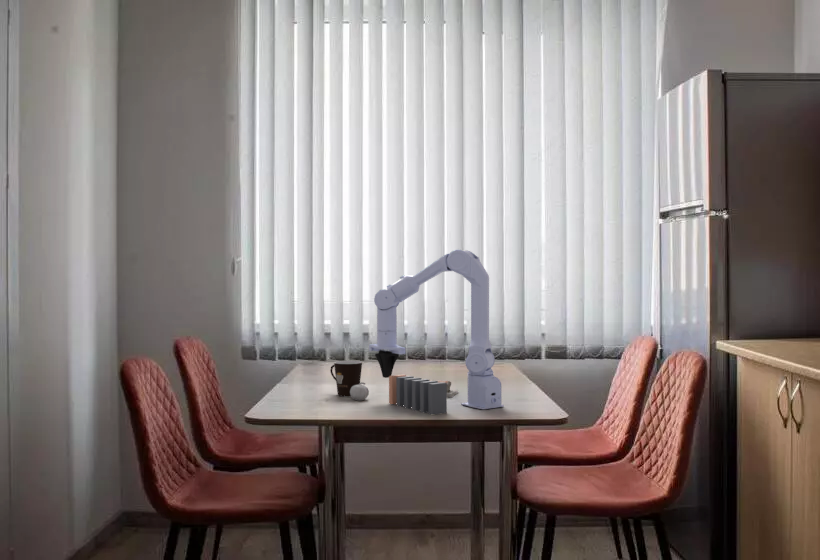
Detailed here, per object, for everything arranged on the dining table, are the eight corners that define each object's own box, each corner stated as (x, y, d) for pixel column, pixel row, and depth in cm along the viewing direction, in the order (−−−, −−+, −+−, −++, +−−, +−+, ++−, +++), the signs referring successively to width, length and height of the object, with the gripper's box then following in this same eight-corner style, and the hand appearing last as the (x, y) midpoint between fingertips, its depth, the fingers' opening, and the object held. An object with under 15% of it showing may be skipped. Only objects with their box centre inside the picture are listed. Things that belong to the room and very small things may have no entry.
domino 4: (429, 408, 202) (429, 379, 202) (415, 410, 199) (415, 381, 199) (426, 407, 203) (426, 378, 203) (412, 409, 200) (411, 380, 200)
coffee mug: (366, 396, 223) (365, 363, 223) (338, 397, 220) (338, 364, 220) (354, 390, 234) (354, 359, 234) (328, 392, 231) (328, 360, 231)
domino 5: (438, 410, 198) (437, 381, 198) (423, 412, 196) (423, 382, 196) (434, 409, 200) (434, 380, 200) (420, 411, 197) (420, 382, 197)
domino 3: (421, 406, 205) (421, 378, 205) (407, 408, 202) (407, 379, 202) (418, 405, 206) (418, 377, 206) (404, 407, 203) (404, 378, 203)
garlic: (373, 399, 218) (373, 381, 218) (362, 402, 213) (362, 384, 213) (357, 397, 221) (356, 380, 221) (345, 400, 216) (345, 382, 216)
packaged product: (393, 380, 225) (403, 376, 235) (393, 396, 225) (403, 391, 235) (450, 382, 220) (458, 378, 230) (451, 399, 220) (458, 394, 230)
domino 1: (406, 403, 211) (406, 375, 211) (392, 404, 208) (392, 376, 208) (403, 402, 212) (402, 374, 212) (389, 403, 210) (389, 375, 209)
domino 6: (446, 412, 195) (446, 382, 195) (432, 414, 193) (432, 384, 193) (443, 412, 197) (442, 382, 197) (428, 413, 194) (428, 383, 194)
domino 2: (413, 404, 208) (413, 376, 208) (399, 406, 205) (399, 377, 205) (410, 404, 209) (410, 375, 209) (396, 405, 206) (396, 377, 206)
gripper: (413, 331, 212) (413, 378, 212) (382, 328, 223) (382, 373, 223) (394, 332, 207) (394, 380, 207) (363, 329, 218) (363, 375, 218)
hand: (386, 377), depth 215 cm, fingers closed
